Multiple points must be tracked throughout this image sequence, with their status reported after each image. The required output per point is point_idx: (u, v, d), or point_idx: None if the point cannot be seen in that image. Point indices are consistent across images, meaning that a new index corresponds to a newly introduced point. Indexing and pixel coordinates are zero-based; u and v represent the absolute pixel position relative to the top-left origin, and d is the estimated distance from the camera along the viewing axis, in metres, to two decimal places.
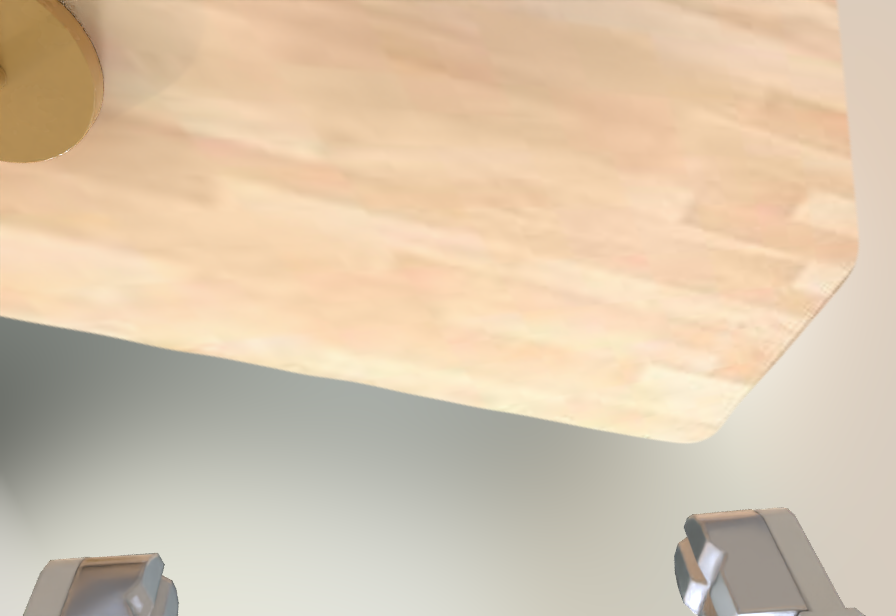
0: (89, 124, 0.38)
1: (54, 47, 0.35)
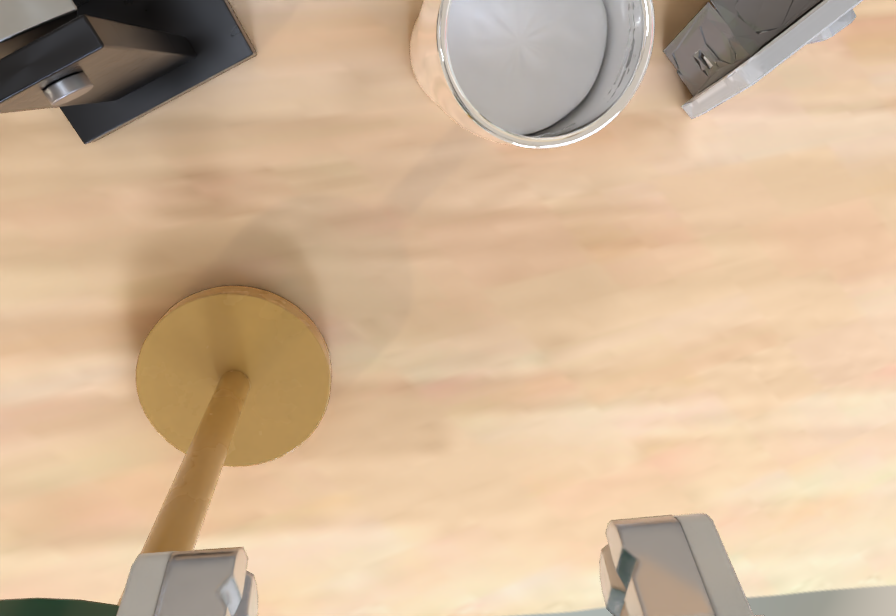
0: (327, 403, 0.38)
1: (289, 339, 0.37)
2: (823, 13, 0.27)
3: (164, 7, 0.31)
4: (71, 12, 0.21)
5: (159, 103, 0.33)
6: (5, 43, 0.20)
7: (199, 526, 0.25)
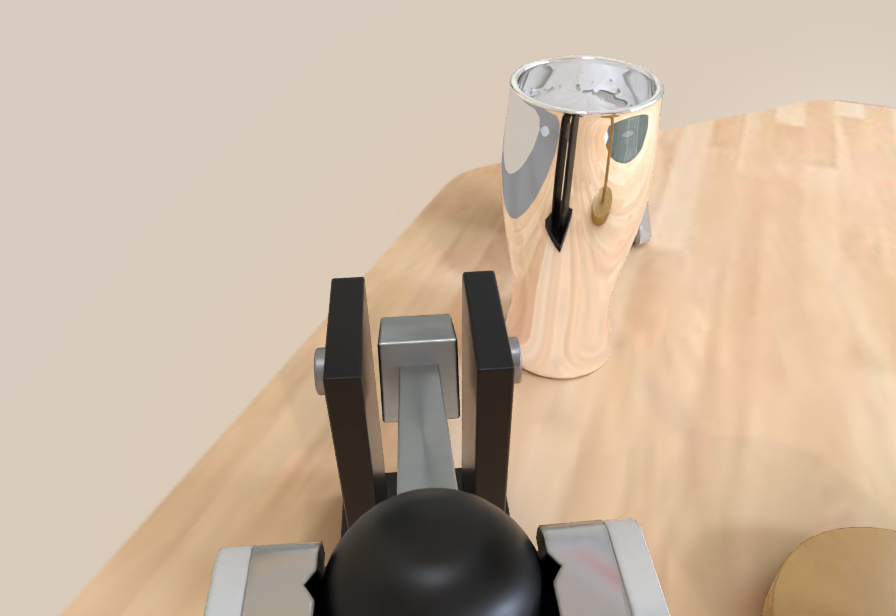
0: None
1: (847, 555, 0.27)
2: None
3: None
4: (450, 316, 0.22)
5: None
6: None
7: None
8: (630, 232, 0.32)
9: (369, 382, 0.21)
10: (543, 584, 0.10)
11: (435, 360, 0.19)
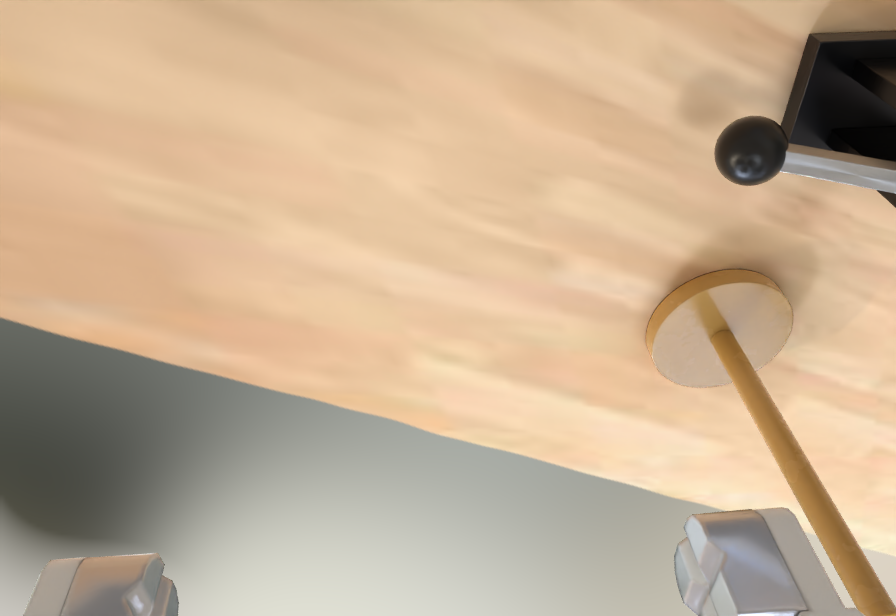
0: (758, 369, 0.52)
1: (776, 326, 0.49)
2: None
3: None
4: None
5: None
6: None
7: None
8: None
9: None
10: (731, 181, 0.36)
11: None
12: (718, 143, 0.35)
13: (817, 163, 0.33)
